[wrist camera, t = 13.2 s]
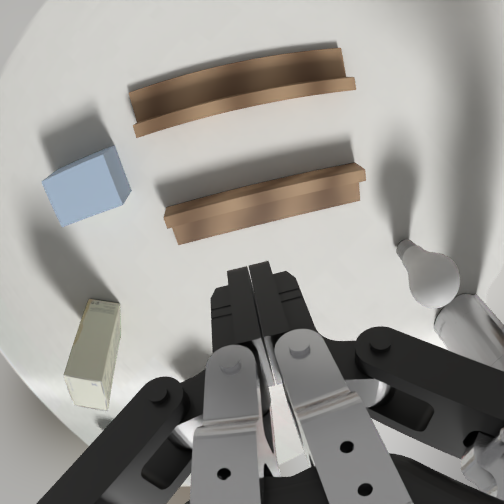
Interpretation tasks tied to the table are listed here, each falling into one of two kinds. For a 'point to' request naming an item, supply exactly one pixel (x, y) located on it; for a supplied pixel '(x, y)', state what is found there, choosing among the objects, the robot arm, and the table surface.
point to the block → (87, 186)
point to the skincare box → (94, 355)
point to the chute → (242, 96)
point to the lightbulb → (429, 275)
